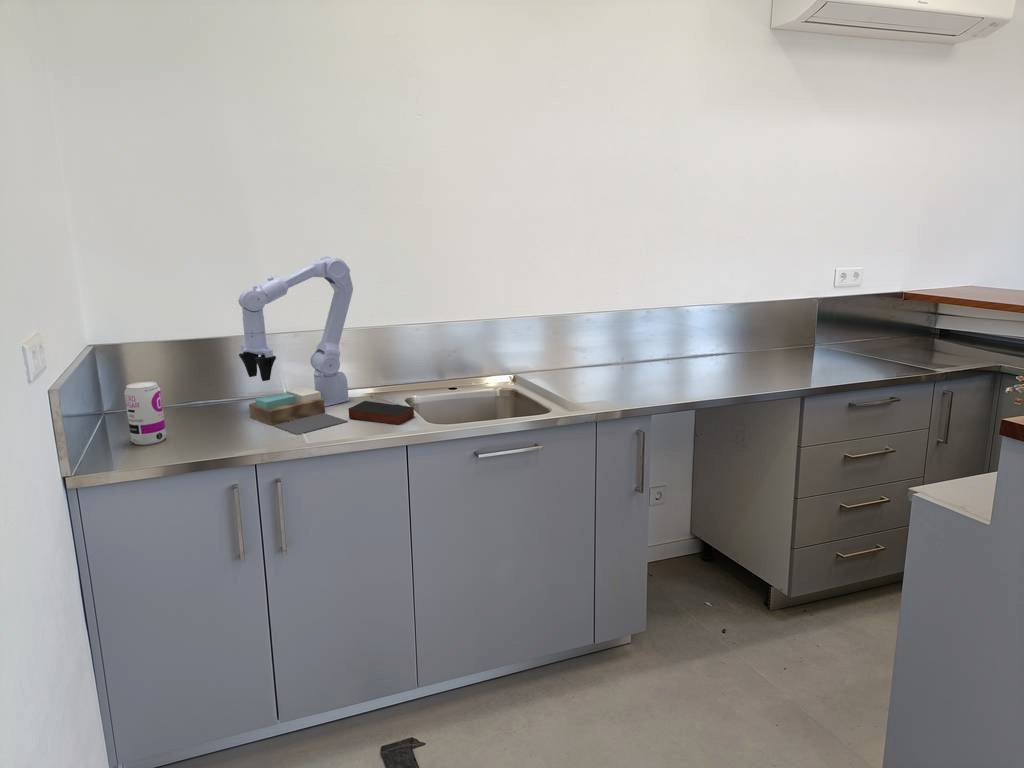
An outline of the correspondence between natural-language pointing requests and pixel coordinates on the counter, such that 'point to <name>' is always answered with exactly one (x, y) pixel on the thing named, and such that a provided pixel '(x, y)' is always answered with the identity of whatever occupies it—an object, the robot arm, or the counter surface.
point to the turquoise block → (275, 400)
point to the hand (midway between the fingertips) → (259, 378)
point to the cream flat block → (304, 394)
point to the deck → (287, 411)
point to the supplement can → (145, 413)
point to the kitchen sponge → (381, 412)
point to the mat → (310, 423)
